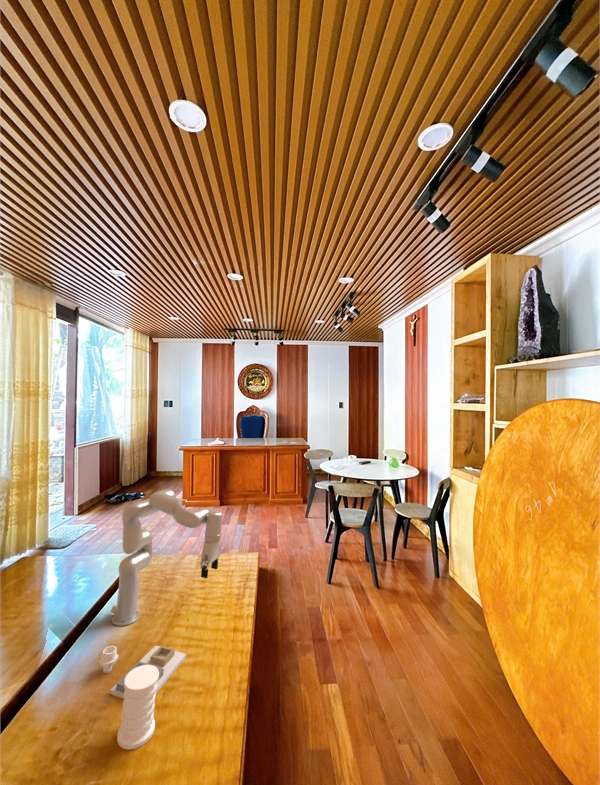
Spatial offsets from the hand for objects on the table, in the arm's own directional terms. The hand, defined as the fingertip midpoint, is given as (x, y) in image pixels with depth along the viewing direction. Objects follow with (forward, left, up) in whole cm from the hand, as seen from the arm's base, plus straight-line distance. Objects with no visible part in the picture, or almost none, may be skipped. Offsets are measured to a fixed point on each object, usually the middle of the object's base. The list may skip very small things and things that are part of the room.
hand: (209, 572), depth 162 cm
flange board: (-9, -26, -31) cm, 42 cm away
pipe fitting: (-27, -30, -31) cm, 51 cm away
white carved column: (+3, -48, -31) cm, 58 cm away
